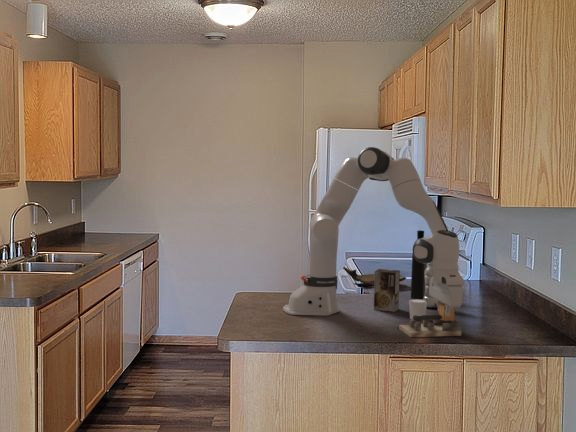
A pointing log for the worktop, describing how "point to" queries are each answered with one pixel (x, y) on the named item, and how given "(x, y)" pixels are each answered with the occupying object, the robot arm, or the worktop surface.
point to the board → (432, 328)
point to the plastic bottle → (428, 275)
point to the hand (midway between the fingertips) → (443, 314)
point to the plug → (437, 317)
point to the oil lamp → (365, 277)
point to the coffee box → (386, 290)
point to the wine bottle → (418, 275)
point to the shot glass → (417, 307)
